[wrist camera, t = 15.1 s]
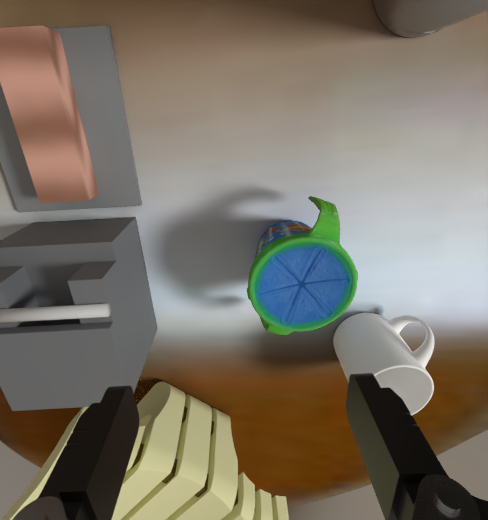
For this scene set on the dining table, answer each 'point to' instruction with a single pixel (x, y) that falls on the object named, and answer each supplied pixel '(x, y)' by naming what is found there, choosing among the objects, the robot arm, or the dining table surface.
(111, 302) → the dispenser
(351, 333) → the mug
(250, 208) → the dining table surface
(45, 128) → the copper bar
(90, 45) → the mat
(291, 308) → the snack cup
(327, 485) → the dining table surface
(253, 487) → the slatted curved stool
